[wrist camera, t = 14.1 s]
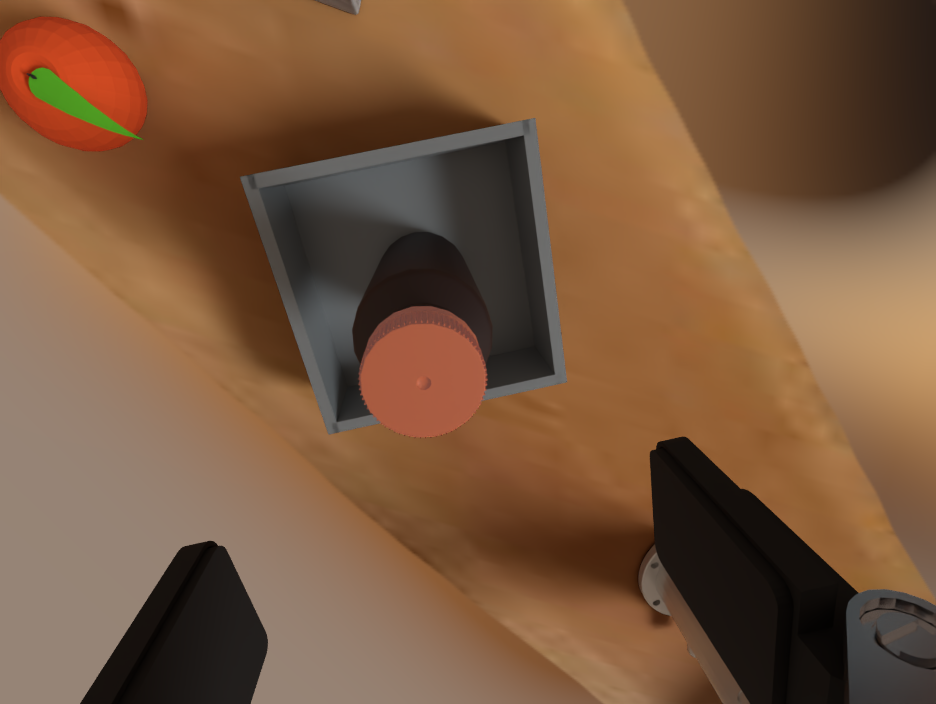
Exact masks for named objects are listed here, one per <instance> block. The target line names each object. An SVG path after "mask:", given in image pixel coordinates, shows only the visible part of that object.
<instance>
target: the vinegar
mask: <svg viewBox="0 0 936 704" xmlns="http://www.w3.org/2000/svg"><path fill="white" fill-rule="evenodd" d="M492 330H493V325H492V322H491V319H490V316H489V313H488V309H487V306H486V304H485V302H484V300H483V298H482V296H481V293H480V291H479V289H478V287H477V285H476V283H475V281H474V279H473V277H472V275H471V273H470V270H469V268H468V266H467V264H466V262H465V260H464V258H463V256H462V255H461V253H460V252H459V251H458V249H457V248H456V246H455V245H454V244H452V243H451V242H450V241H448V240H447V239H446V238H444V237H443V236H440V235H436V234H433V233H430V232H414V233H411V234H408V235H405V236H402V237H400V238H399V239H398V240H396V241H395V242H394V243H393V244H391V245H390V246H389V248H388V249H387V251H386V252H385V254H384V255H383V257H382V258H381V260H380V263H379V265H378V267H377V269H376V271H375V273H374V275H373V277H372V279H371V281H370V283H369V285H368V287H367V289H366V291H365V293H364V296H363V298H362V300H361V302H360V304H359V306H358V308H357V312H356V316H355V320H354V324H353V328H352V334H353V345H354V352H355V354H356V357H357V359H358V361H359V363H360V368H359V369H360V371H359V378H358V380H360V381H359V384H358V385H360V388H359V390H361V394H360V395H362V396H363V397H362V400H365V402H364V405H366V404H367V409H369V411H370V413H372V414H373V417H376V418H377V420H376V421H378V420H379V421H380V422H381V424H383V425H385V427H388V428H389V430H391V429H392V430H394V433H395V432H397V433H399V435H400V434H404V436H405V435H409V437H411V436H413V437H414V438H416V437H420V438H421V437H425V438H426V437H430V438H432V436H436V437H437V436H438V435H441V436H442V434H444V433H446V434H447V432H452V431H453V430H454V429H455V430H456V428H457V427H461V424H465V422H466V421H467V420H468V421H469V418H470V417H473V416H472V414H473V413H476V409H479V405H481V400H484V399H483V395H485V392H484V391H486V386H487V382H486V381H487V380H488V379H487V372H486V370H487V369H486V366H485V365H486V363H487V360H488V357H489V354H490V352H491V349H492Z"/></svg>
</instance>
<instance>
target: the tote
mask: <svg viewBox="0 0 936 704" xmlns="http://www.w3.org/2000/svg"><path fill="white" fill-rule="evenodd" d="M240 179H241V182H242V185H243V188H244V191H245V193H246V196H247V199H248V202H249V205H250V208H251V211H252V214H253V217H254V220H255V222H256V225H257V228H258V231H259V234H260V237H261V240H262V243H263V246H264V249H265V251H266V254H267V257H268V260H269V263H270V266H271V269H272V272H273V275H274V278H275V281H276V283H277V286H278V289H279V292H280V295H281V298H282V301H283V304H284V307H285V310H286V312H287V315H288V318H289V321H290V324H291V327H292V330H293V333H294V336H295V339H296V341H297V344H298V347H299V350H300V353H301V356H302V359H303V362H304V365H305V368H306V370H307V373H308V376H309V379H310V382H311V385H312V388H313V391H314V394H315V397H316V399H317V402H318V405H319V408H320V411H321V414H322V417H323V420H324V423H325V426H326V428H327V431H328V434H333V433H338V432H342V431H347V430H351V429H356V428H360V427H365V426H369V425H374V424H379V423H381V422H380V421H379V420H378V421H376V420H377V418H376V417H373V414H372V413H370V411H369V409H367V404H366V405H364V402H365V400H362V397H363V396H362V395H360V394H361V390H359V388H360V385H358V384H359V381H360V380H358V378H359V371H360V369H359V368H360V363H359V361H358V359H357V357H356V354H355V352H354V345H353V334H352V328H353V324H354V320H355V316H356V312H357V308H358V306H359V304H360V302H361V300H362V298H363V296H364V293H365V291H366V289H367V287H368V285H369V283H370V281H371V279H372V277H373V275H374V273H375V271H376V269H377V267H378V265H379V263H380V260H381V258H382V257H383V255H384V254H385V252H386V251H387V249H388V248H389V246H390V245H391V244H393V243H394V242H395V241H396V240H398V239H399V238H400V237H402V236H405V235H408V234H411V233H414V232H430V233H433V234H436V235H440V236H443V237H444V238H446V239H447V240H448V241H450V242H451V243H452V244H454V245H455V246H456V248H457V249H458V251H459V252H460V253H461V255H462V256H463V258H464V260H465V262H466V264H467V266H468V268H469V270H470V273H471V275H472V277H473V279H474V281H475V283H476V285H477V287H478V289H479V291H480V293H481V296H482V298H483V300H484V302H485V304H486V306H487V309H488V313H489V316H490V319H491V322H492V325H493V330H492V349H491V352H490V354H489V357H488V360H487V363H486V365H485V366H486V369H487V370H486V372H487V379H488V380H487V381H486V382H487V386H486V391H484V392H485V395H483V399H484V400H488V399H493V398H497V397H502V396H506V395H511V394H515V393H520V392H524V391H529V390H534V389H538V388H543V387H547V386H552V385H556V384H561V383H566V382H567V378H566V370H565V361H564V353H563V345H562V337H561V328H560V320H559V312H558V303H557V295H556V287H555V278H554V270H553V262H552V253H551V245H550V237H549V228H548V220H547V212H546V203H545V195H544V187H543V178H542V170H541V162H540V153H539V145H538V137H537V129H536V120H535V118H533V119H528V120H523V121H518V122H513V123H508V124H503V125H498V126H493V127H488V128H482V129H477V130H472V131H467V132H462V133H457V134H452V135H447V136H442V137H437V138H432V139H427V140H422V141H417V142H412V143H407V144H402V145H397V146H392V147H387V148H382V149H377V150H372V151H367V152H362V153H357V154H352V155H347V156H342V157H337V158H332V159H327V160H322V161H317V162H312V163H307V164H302V165H297V166H292V167H287V168H282V169H277V170H272V171H267V172H262V173H257V174H252V175H247V176H242V177H240ZM481 401H483V400H481Z"/></svg>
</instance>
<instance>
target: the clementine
mask: <svg viewBox="0 0 936 704" xmlns="http://www.w3.org/2000/svg"><path fill="white" fill-rule="evenodd" d="M0 90H1V92H2V93H3V95H4V97H5V99H6V101H7V102H8V104H9V106H10V107H11V108H12V109H13V110H14V111H15V113H16V114H17V115H18V116H19V117H20V119H22V120H23V121H24V122H25V123H27V124H28V125H29V126H31V127H32V128H33V129H34V130H36V131H37V132H38V133H39V134H41V135H42V136H44V137H46V138H48V139H50V140H52V141H54V142H55V143H57V144H60V145H64V146H67V147H71V148H75V149H79V150H82V151H105V150H110V149H114V148H118V147H121V146H123V145H125V144H126V143H128V142H129V141H131V140H132V139H133V138H137V139H141V138H140V137H138V136H136V134H137V133H138V132H139V130H140V129H141V128H142V126H143V124H144V121H145V118H146V115H147V97H146V92H145V87H144V85H143V83H142V80H141V78H140V76H139V74H138V72H137V69H136V68H135V66H134V65H133V64H132V62H131V61H130V59H129V58H128V57H127V55H126V54H125V53H124V52H123V51H122V50H121V49H120V48H119V47H117V46H116V45H115V44H114V43H113V42H112V41H111V40H109V39H108V38H106V37H105V36H104V35H102V34H100V33H99V32H97V31H95V30H93V29H92V28H90V27H88V26H87V25H84V24H80V23H77V22H74V21H71V20H67V19H63V18H58V17H37V18H34V19H30V20H26V21H23V22H20V23H17V24H16V25H15V26H13V27H12V28H10V29H9V30H7V31H6V32H5V34H4V35H3V37H2V38H1V40H0ZM142 140H143V139H142Z"/></svg>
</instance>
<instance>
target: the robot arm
mask: <svg viewBox="0 0 936 704" xmlns="http://www.w3.org/2000/svg"><path fill="white" fill-rule="evenodd" d="M650 468H651V486H652V503H653V520H654V538H655V545H653V546H652V548H651V549H650V550H649V552H648V553H647V554H646V556H645V558H644V559H643V561H642V563H641V566H640V570H639V576H638V582H639V587H640V590H641V592H642V594H643V596H644V598H645V600H646V601H647V603H648V604H649V605H650V606H651V607H652V608H653V609H655V610H656V611H658V612H660V613H662V614H666V615H669V616H672V617H673V619H674V621H675V623H676V624H677V626H678V628H679V629H680V631H681V633H682V635H683V636H684V638H685V640H686V641H687V650H688V652H689V654H690V655H691V656H693V657H695V658H696V659H697V660H698V662H699V664H700V665H701V667H702V669H703V671H704V672H705V674H706V676H707V677H708V679H709V681H710V683H711V684H712V686H713V688H714V689H715V691H716V693H717V695H718V696H719V698H720V700H721V701H722V703H723V704H936V606H935V605H933V604H932V603H930V602H928V601H926V600H924V599H921V598H918V597H915V596H912V595H909V594H907V593H903V592H897V591H892V590H886V589H880V590H867V591H864V592H861V593H858V592H857V591H856V590H855V589H854V588H853V587H852V586H850V585H849V584H848V583H847V582H846V581H845V580H844V579H843V578H842V577H841V576H840V575H839V574H838V573H837V572H836V571H835V570H833V569H832V568H831V567H830V566H829V565H828V564H827V563H826V562H825V561H824V560H823V559H822V558H821V557H820V556H819V555H818V554H816V553H815V552H814V551H813V550H812V549H811V548H810V547H809V546H808V545H807V544H806V543H805V542H804V541H803V540H802V539H801V538H799V537H798V536H797V535H796V534H795V533H794V532H793V531H792V530H791V529H790V528H789V527H788V526H787V525H786V524H785V523H784V522H782V521H781V520H780V519H779V518H778V517H777V516H776V515H775V514H774V513H773V512H772V511H771V510H770V509H769V508H768V507H766V506H765V505H764V504H763V503H762V502H761V501H760V500H759V499H758V498H757V497H756V496H755V495H754V494H752V493H751V492H749V491H748V490H745V489H740V488H739V487H738V486H737V485H736V484H735V483H734V482H733V481H732V480H731V479H730V478H729V477H728V476H727V475H726V474H725V473H723V472H722V471H721V470H720V469H719V468H718V467H717V466H716V465H715V464H714V463H713V462H712V461H711V460H710V459H709V458H708V457H707V456H706V455H705V454H704V453H703V452H702V451H701V450H700V449H699V448H697V447H696V446H695V445H694V444H693V443H692V442H691V441H690V440H689V439H688V438H686V437H679V438H674V439H670V440H665V441H660V442H658V443H657V446H656V450H652V451H651V452H650ZM267 647H268V639H267V634H266V632H265V629H264V627H263V625H262V623H261V621H260V619H259V617H258V615H257V613H256V611H255V609H254V607H253V604H252V602H251V600H250V598H249V596H248V594H247V592H246V590H245V588H244V585H243V583H242V582H241V579H240V577H239V575H238V573H237V571H236V569H235V567H234V565H233V562H232V560H231V558H230V556H229V554H228V552H227V550H226V549H225V547H223V546H218V545H217V544H216V543H215V542H214V541H207V542H203V543H198V544H193V545H189V546H185V547H182V548H181V549H180V550H179V551H178V553H177V554H176V556H175V557H174V559H173V560H172V562H171V563H170V565H169V567H168V568H167V570H166V571H165V573H164V574H163V576H162V577H161V579H160V581H159V582H158V584H157V585H156V587H155V588H154V590H153V591H152V593H151V594H150V596H149V597H148V599H147V601H146V602H145V604H144V605H143V607H142V609H141V610H140V611H139V613H138V614H137V616H136V618H135V619H134V621H133V622H132V624H131V626H130V627H129V628H128V630H127V632H126V633H125V635H124V636H123V638H122V639H121V641H120V643H119V644H118V646H117V647H116V649H115V650H114V652H113V653H112V655H111V656H110V658H109V660H108V661H107V663H106V664H105V666H104V667H103V669H102V670H101V672H100V673H99V675H98V677H97V678H96V680H95V681H94V683H93V685H92V686H91V688H90V689H89V691H88V692H87V694H86V695H85V697H84V698H83V700H82V702H81V703H80V704H251V700H252V697H253V694H254V691H255V688H256V685H257V681H258V678H259V675H260V672H261V669H262V666H263V663H264V659H265V657H266V653H267Z"/></svg>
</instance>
